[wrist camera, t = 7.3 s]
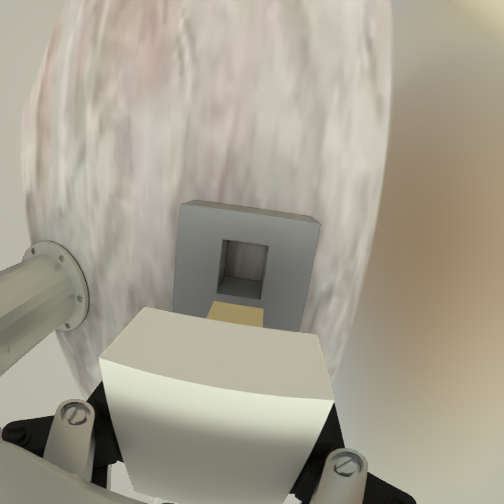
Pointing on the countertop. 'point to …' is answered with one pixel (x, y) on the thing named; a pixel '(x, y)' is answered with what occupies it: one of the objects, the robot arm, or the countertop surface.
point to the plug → (215, 404)
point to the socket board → (237, 289)
